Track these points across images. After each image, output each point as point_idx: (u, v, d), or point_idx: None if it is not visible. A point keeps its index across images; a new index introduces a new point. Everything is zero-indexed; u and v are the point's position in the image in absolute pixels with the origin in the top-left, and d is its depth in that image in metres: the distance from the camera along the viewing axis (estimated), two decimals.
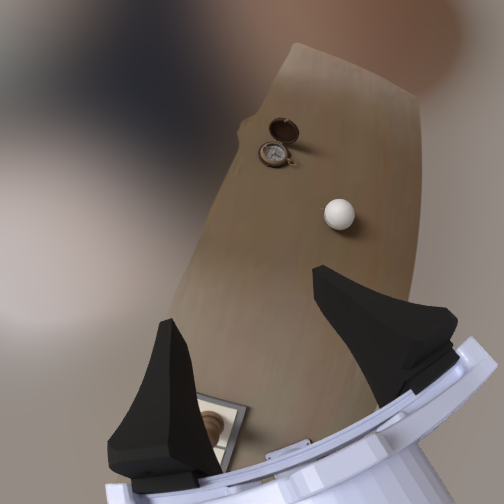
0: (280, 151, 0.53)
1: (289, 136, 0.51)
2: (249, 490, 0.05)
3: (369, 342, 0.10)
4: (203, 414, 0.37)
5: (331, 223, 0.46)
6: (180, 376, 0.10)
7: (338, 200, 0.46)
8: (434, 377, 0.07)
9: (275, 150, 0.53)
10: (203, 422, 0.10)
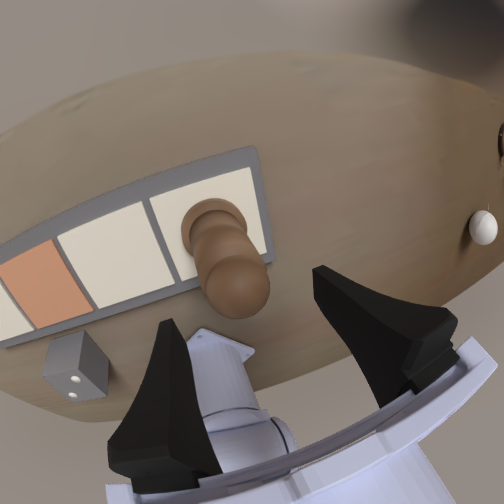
0: None
1: None
2: (249, 490, 0.05)
3: (369, 342, 0.10)
4: (233, 211, 0.19)
5: (480, 225, 0.31)
6: (180, 376, 0.10)
7: None
8: (434, 377, 0.07)
9: None
10: (203, 422, 0.10)
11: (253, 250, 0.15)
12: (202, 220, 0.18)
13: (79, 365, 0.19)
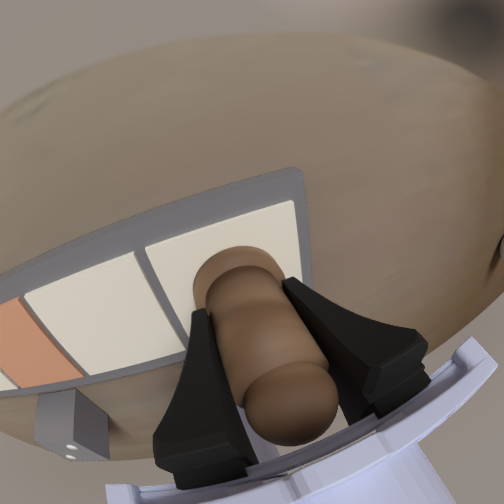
0: None
1: None
2: (249, 490, 0.05)
3: (333, 360, 0.09)
4: (270, 266, 0.13)
5: None
6: (218, 364, 0.10)
7: None
8: (400, 402, 0.07)
9: None
10: (238, 412, 0.10)
11: (315, 351, 0.09)
12: (227, 286, 0.12)
13: (73, 436, 0.13)
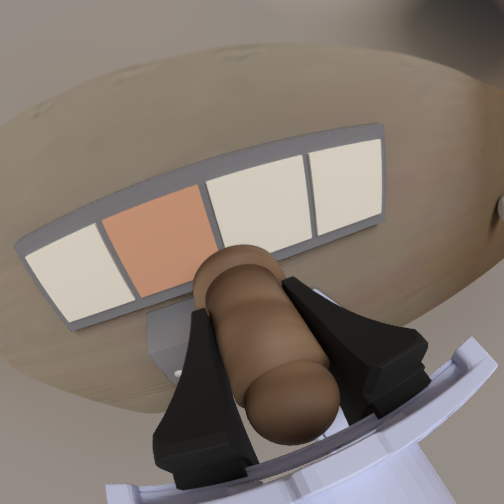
0: None
1: None
2: (249, 490, 0.05)
3: (333, 360, 0.09)
4: (270, 265, 0.13)
5: None
6: (218, 365, 0.10)
7: None
8: (399, 402, 0.07)
9: None
10: (238, 412, 0.10)
11: (316, 349, 0.09)
12: (227, 284, 0.12)
13: None
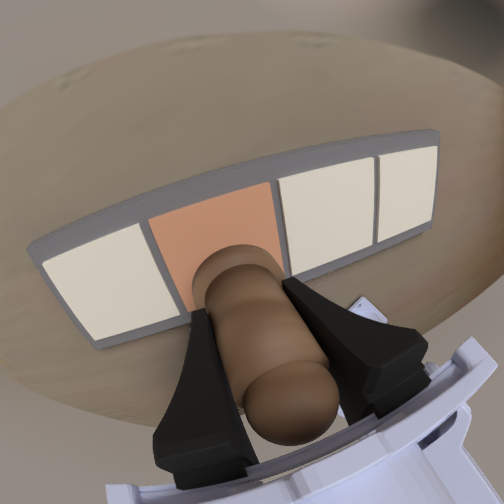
0: None
1: None
2: (249, 490, 0.05)
3: (333, 360, 0.09)
4: (269, 265, 0.13)
5: None
6: (218, 365, 0.10)
7: None
8: (400, 402, 0.07)
9: None
10: (238, 412, 0.10)
11: (316, 349, 0.09)
12: (226, 284, 0.12)
13: None
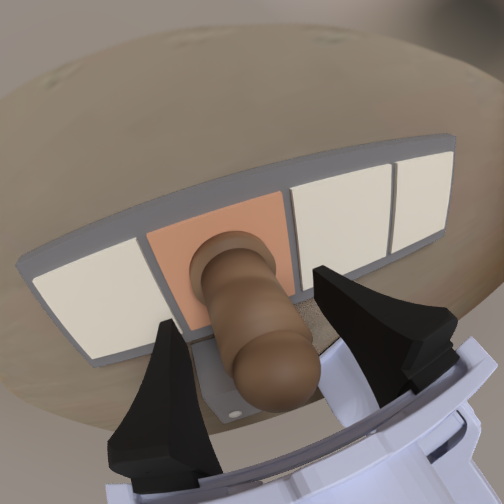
0: None
1: None
2: (249, 490, 0.05)
3: (369, 342, 0.10)
4: (260, 249, 0.15)
5: None
6: (180, 376, 0.10)
7: None
8: (434, 377, 0.07)
9: None
10: (203, 422, 0.10)
11: (298, 321, 0.10)
12: (220, 265, 0.13)
13: None
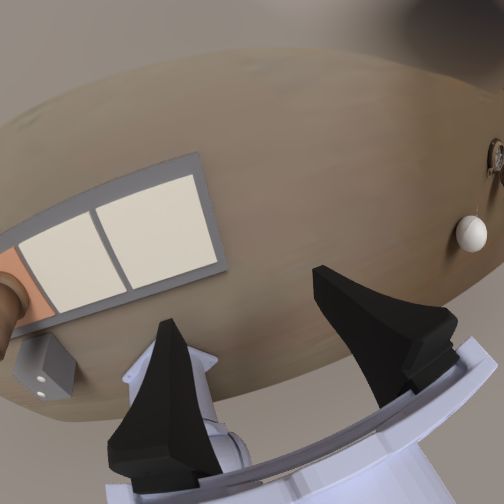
0: (496, 164, 0.30)
1: None
2: (249, 490, 0.05)
3: (369, 342, 0.10)
4: (8, 284, 0.16)
5: (467, 231, 0.30)
6: (180, 376, 0.10)
7: (486, 231, 0.30)
8: (434, 377, 0.07)
9: (497, 159, 0.30)
10: (203, 422, 0.10)
11: None
12: None
13: (43, 366, 0.18)
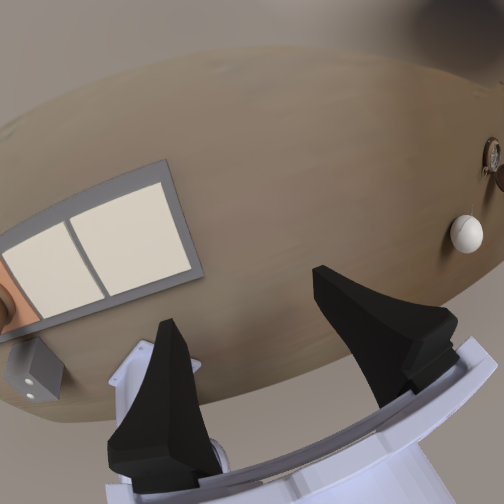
0: (491, 164, 0.29)
1: (503, 182, 0.29)
2: (249, 490, 0.05)
3: (369, 342, 0.10)
4: None
5: (462, 232, 0.29)
6: (180, 376, 0.10)
7: (482, 231, 0.29)
8: (434, 377, 0.07)
9: (493, 159, 0.29)
10: (203, 422, 0.10)
11: None
12: None
13: (30, 370, 0.18)
